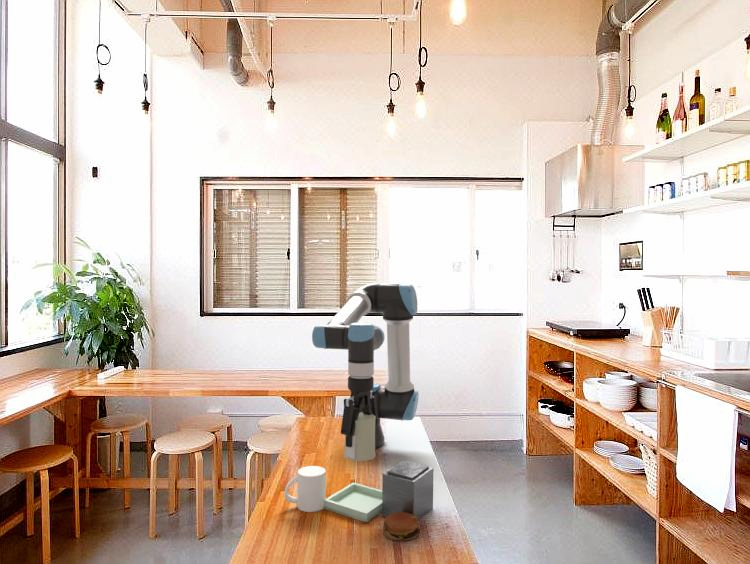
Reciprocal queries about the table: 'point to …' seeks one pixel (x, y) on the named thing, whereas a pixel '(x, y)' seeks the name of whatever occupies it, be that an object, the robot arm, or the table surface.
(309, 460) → the table surface
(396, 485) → the unit
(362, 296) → the robot arm
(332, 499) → the tray
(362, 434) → the can
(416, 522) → the burger
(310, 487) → the mug
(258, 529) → the table surface
